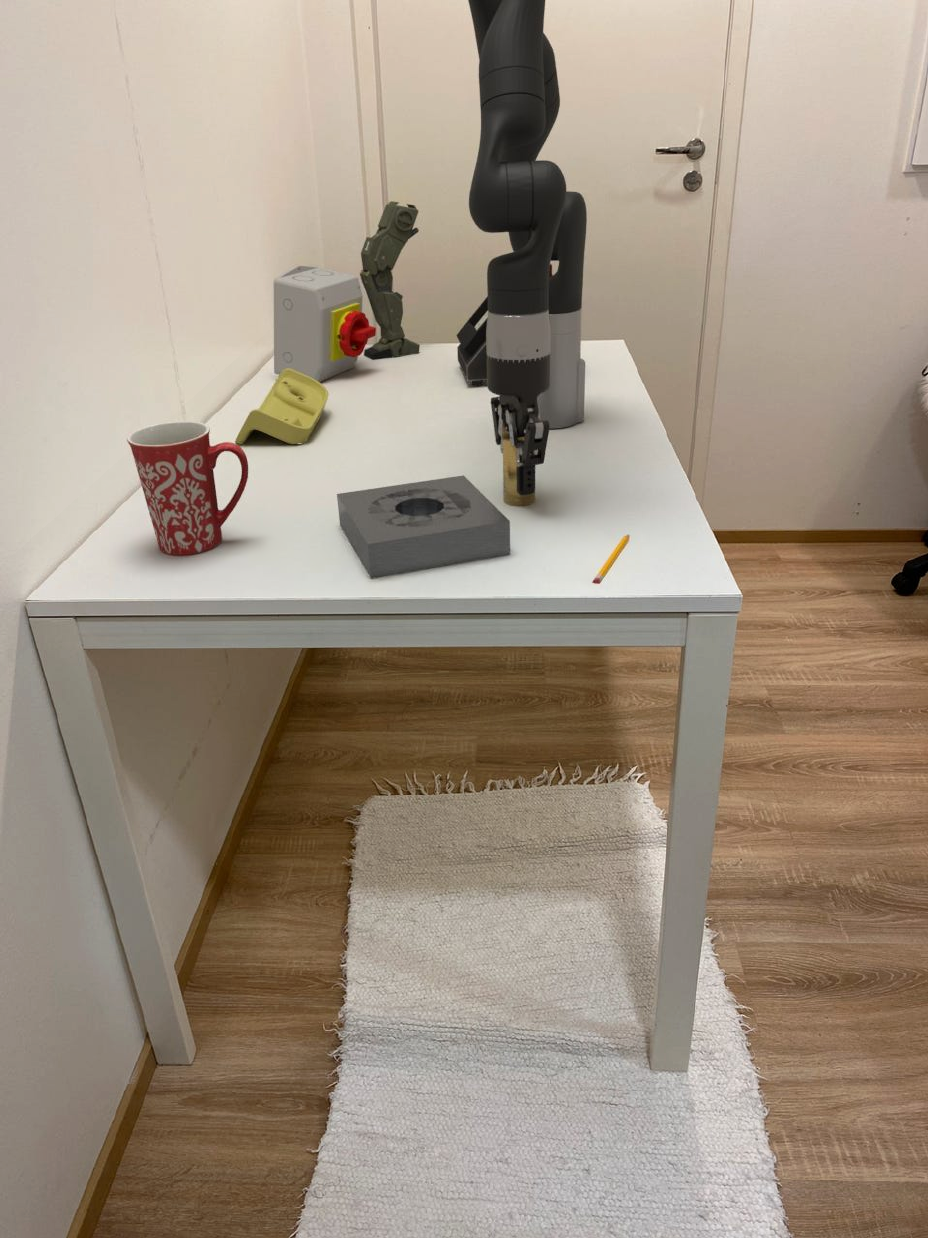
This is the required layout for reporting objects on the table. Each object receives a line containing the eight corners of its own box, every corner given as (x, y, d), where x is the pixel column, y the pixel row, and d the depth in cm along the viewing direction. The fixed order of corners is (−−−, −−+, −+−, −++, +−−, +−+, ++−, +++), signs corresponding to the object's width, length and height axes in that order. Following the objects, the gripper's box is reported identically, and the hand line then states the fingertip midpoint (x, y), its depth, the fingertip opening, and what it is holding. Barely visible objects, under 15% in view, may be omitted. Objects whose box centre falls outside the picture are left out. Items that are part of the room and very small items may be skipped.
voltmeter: (456, 367, 182) (452, 258, 173) (539, 362, 183) (540, 254, 174) (465, 388, 168) (461, 271, 159) (555, 383, 169) (556, 266, 160)
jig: (464, 505, 118) (463, 475, 116) (510, 554, 105) (509, 521, 103) (340, 524, 114) (336, 493, 112) (370, 578, 100) (367, 544, 98)
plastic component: (308, 432, 140) (244, 404, 139) (293, 473, 144) (231, 446, 143) (334, 388, 157) (278, 362, 155) (320, 425, 161) (265, 401, 159)
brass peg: (528, 492, 121) (527, 432, 117) (539, 503, 118) (540, 441, 114) (499, 497, 120) (498, 436, 116) (510, 507, 117) (509, 445, 113)
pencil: (591, 585, 98) (592, 579, 98) (625, 536, 109) (625, 530, 108) (599, 586, 98) (599, 580, 97) (632, 537, 108) (632, 531, 108)
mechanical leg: (357, 358, 188) (379, 197, 176) (344, 352, 193) (365, 195, 182) (419, 365, 194) (443, 210, 183) (404, 359, 200) (427, 208, 189)
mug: (141, 561, 106) (116, 446, 100) (160, 530, 114) (138, 422, 108) (252, 556, 106) (234, 441, 100) (264, 525, 114) (248, 417, 108)
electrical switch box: (340, 398, 173) (344, 287, 162) (273, 380, 178) (273, 270, 167) (380, 379, 185) (386, 274, 174) (316, 362, 189) (318, 259, 179)
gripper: (572, 359, 105) (569, 502, 113) (525, 335, 117) (525, 466, 125) (510, 366, 103) (511, 511, 111) (468, 341, 115) (472, 474, 123)
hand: (519, 486), depth 118 cm, fingers closed on brass peg, 4 cm apart
